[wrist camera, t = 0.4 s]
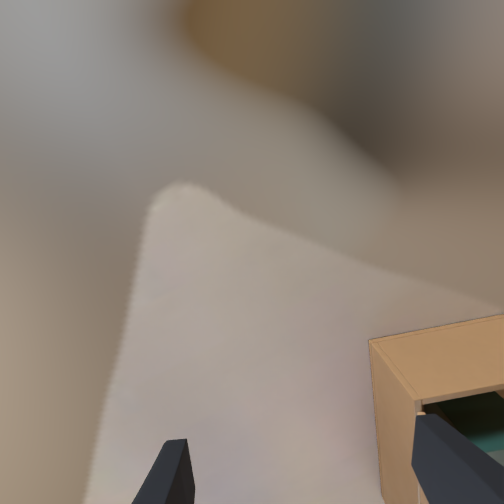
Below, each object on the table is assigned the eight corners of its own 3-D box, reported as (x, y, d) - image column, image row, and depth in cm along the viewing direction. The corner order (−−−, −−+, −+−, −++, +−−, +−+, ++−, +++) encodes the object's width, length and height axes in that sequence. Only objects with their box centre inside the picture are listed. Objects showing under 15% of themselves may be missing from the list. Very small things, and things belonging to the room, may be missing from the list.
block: (477, 421, 22) (544, 492, 17) (424, 431, 22) (476, 505, 17) (479, 376, 21) (551, 439, 16) (423, 387, 21) (478, 453, 16)
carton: (537, 466, 24) (618, 548, 19) (381, 496, 24) (421, 585, 19) (556, 303, 20) (667, 352, 15) (368, 339, 20) (414, 400, 15)
